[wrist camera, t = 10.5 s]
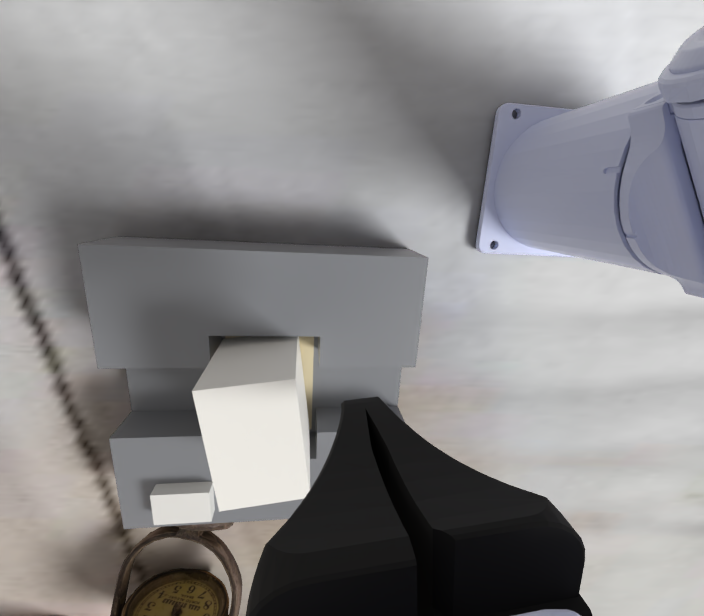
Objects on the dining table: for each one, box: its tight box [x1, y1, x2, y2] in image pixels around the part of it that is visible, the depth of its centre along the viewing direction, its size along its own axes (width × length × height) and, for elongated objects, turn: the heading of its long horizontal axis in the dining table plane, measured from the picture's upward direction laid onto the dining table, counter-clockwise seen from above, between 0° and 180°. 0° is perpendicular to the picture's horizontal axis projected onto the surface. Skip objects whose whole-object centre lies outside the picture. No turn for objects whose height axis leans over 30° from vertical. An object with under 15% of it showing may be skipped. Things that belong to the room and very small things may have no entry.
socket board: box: [77, 237, 428, 529], centre depth 20 cm, size 16×16×4 cm
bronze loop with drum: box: [110, 522, 242, 616], centre depth 22 cm, size 7×13×10 cm
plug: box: [192, 336, 310, 512], centre depth 18 cm, size 4×6×6 cm, turn 4°
